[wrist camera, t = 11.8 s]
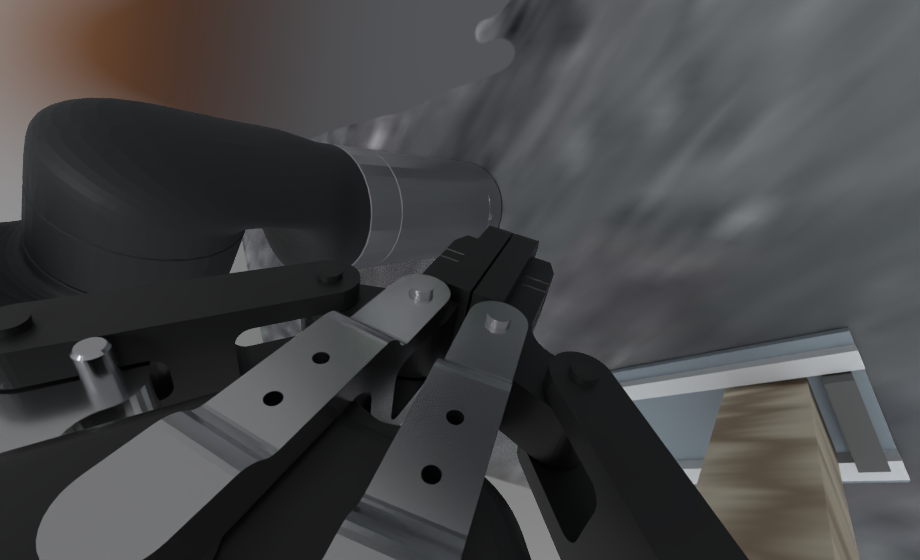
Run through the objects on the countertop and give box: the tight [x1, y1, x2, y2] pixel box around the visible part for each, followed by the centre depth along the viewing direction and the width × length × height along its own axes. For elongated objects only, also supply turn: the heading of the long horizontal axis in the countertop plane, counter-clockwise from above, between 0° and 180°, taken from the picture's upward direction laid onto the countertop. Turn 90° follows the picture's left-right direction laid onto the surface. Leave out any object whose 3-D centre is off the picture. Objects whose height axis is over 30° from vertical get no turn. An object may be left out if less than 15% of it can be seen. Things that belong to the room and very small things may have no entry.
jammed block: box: [696, 377, 860, 560], centre depth 23 cm, size 5×5×20 cm
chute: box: [611, 327, 910, 486], centre depth 33 cm, size 21×10×4 cm, turn 114°
